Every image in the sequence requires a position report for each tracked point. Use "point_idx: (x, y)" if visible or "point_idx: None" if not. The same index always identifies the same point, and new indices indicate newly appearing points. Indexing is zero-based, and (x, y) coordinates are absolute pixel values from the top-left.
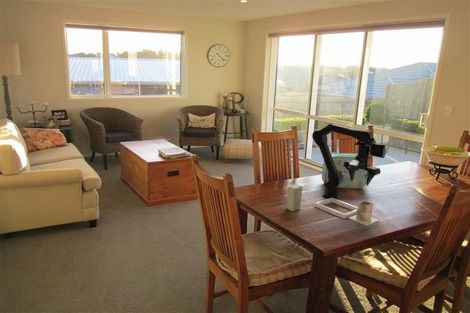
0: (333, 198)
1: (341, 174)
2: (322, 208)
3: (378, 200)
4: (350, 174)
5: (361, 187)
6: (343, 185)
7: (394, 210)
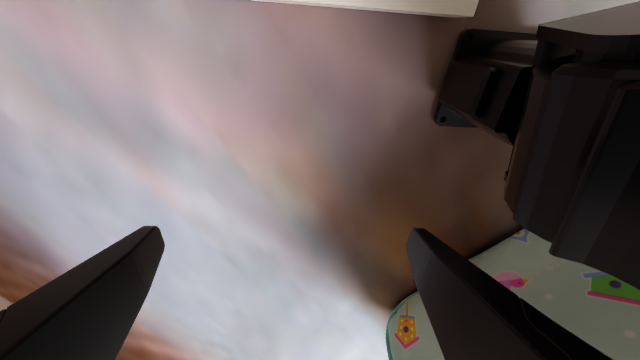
0: (455, 2)
1: (628, 258)
2: None
3: (262, 265)
4: (505, 304)
5: (393, 314)
6: None
7: (117, 223)
